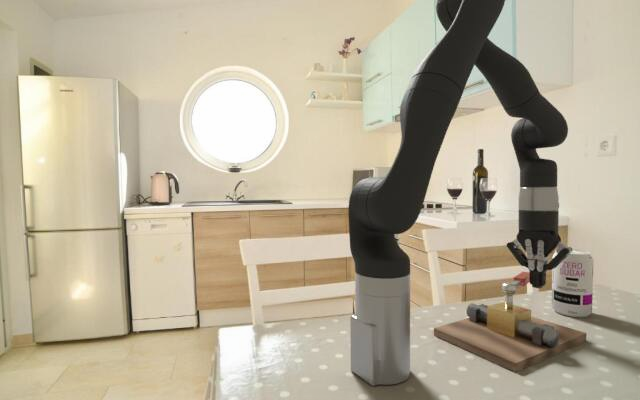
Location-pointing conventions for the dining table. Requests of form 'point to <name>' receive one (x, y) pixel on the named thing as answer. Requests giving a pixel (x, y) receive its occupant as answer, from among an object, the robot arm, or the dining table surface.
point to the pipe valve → (513, 322)
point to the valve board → (506, 343)
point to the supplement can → (573, 285)
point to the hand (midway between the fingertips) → (537, 287)
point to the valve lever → (516, 283)
